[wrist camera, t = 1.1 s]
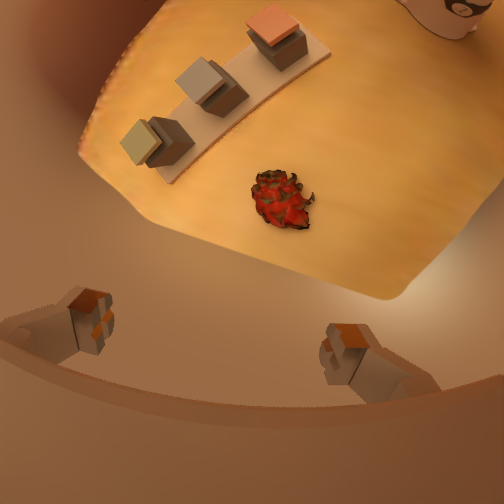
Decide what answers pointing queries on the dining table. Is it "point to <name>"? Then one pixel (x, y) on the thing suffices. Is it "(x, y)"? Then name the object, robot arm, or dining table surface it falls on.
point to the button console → (232, 98)
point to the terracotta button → (272, 24)
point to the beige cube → (200, 81)
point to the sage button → (140, 142)
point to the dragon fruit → (281, 200)
